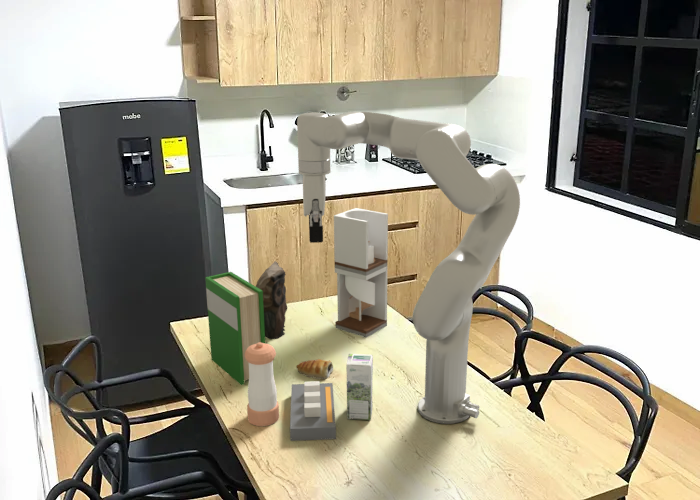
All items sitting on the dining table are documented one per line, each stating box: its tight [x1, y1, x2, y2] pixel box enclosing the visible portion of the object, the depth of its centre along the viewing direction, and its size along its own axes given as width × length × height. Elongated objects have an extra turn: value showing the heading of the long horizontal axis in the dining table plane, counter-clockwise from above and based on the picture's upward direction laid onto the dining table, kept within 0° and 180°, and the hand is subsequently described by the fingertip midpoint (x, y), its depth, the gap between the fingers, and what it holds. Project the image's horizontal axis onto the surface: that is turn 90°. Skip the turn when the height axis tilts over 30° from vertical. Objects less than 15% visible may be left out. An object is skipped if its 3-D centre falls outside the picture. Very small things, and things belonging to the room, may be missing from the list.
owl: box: [255, 260, 288, 340], centre depth 209 cm, size 13×13×20 cm
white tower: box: [333, 207, 389, 338], centre depth 209 cm, size 11×11×35 cm
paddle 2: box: [304, 403, 321, 417], centre depth 160 cm, size 1×4×3 cm, turn 93°
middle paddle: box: [304, 392, 320, 403], centre depth 165 cm, size 1×4×3 cm, turn 94°
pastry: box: [295, 358, 334, 380], centre depth 187 cm, size 9×7×4 cm
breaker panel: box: [289, 382, 337, 442], centre depth 166 cm, size 20×10×3 cm, turn 3°
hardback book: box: [205, 271, 266, 386], centre depth 186 cm, size 18×7×24 cm, turn 35°
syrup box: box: [346, 353, 374, 421], centre depth 165 cm, size 6×6×14 cm
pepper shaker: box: [245, 342, 280, 427], centre depth 163 cm, size 7×7×19 cm
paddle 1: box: [303, 380, 321, 392], centre depth 170 cm, size 1×4×3 cm, turn 94°
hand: (315, 236), depth 173 cm, fingers open, 9 cm apart
